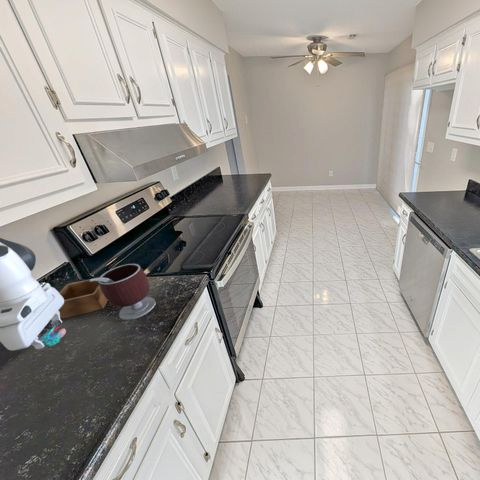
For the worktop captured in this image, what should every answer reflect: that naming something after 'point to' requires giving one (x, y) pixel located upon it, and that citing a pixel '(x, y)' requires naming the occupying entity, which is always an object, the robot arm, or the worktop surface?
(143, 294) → the mate gourd
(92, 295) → the crate
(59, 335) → the anatomy model
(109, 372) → the worktop surface
